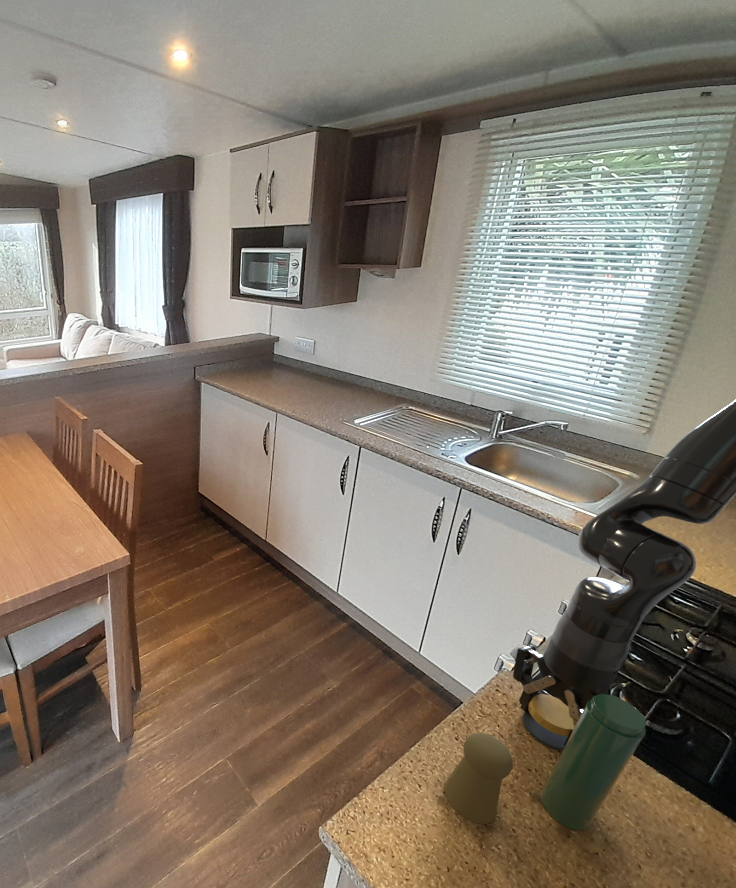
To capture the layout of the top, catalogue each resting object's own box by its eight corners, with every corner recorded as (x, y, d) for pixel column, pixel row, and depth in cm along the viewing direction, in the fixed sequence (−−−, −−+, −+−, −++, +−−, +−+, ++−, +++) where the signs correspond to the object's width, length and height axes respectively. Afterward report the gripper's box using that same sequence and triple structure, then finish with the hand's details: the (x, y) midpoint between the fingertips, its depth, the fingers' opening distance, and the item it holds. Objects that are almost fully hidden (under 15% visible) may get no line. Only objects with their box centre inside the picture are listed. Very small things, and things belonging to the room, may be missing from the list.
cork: (499, 797, 66) (524, 745, 61) (491, 835, 61) (516, 781, 57) (449, 767, 69) (469, 715, 65) (438, 800, 65) (458, 748, 61)
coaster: (558, 714, 76) (559, 712, 76) (584, 754, 71) (585, 751, 70) (514, 708, 78) (515, 706, 77) (535, 746, 72) (536, 744, 72)
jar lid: (540, 732, 71) (544, 725, 71) (520, 697, 76) (523, 691, 76) (586, 739, 70) (589, 732, 69) (562, 703, 75) (565, 697, 75)
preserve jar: (574, 792, 66) (628, 695, 58) (599, 834, 61) (662, 735, 54) (532, 784, 67) (580, 688, 59) (553, 826, 62) (608, 727, 54)
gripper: (516, 618, 72) (486, 695, 79) (630, 698, 60) (583, 781, 67) (551, 606, 75) (518, 682, 81) (668, 680, 62) (618, 763, 69)
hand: (548, 726), depth 74 cm, fingers closed on jar lid, 6 cm apart
